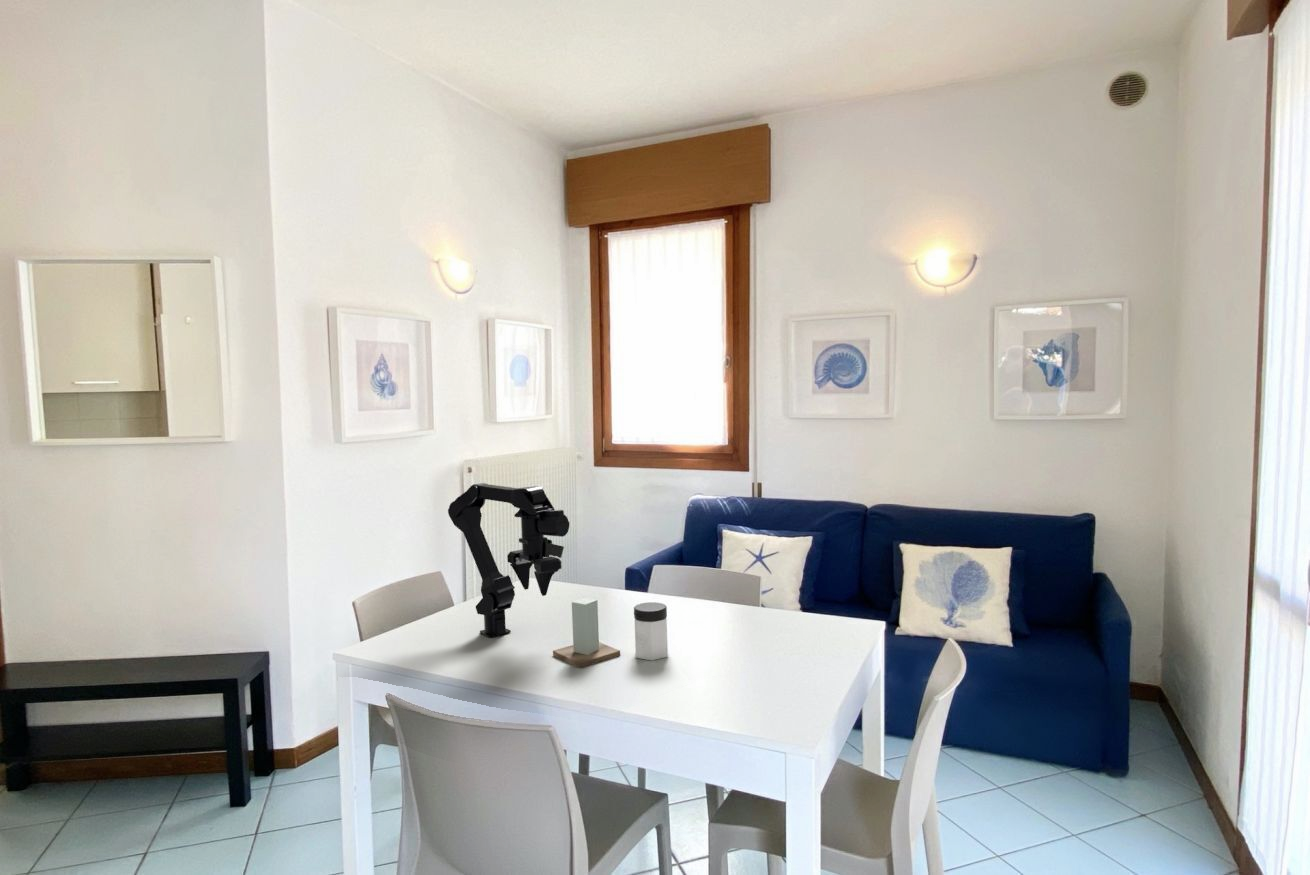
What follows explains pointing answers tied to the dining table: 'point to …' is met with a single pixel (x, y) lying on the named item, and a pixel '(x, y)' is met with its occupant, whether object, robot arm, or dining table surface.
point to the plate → (585, 660)
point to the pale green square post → (585, 626)
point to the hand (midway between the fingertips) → (535, 592)
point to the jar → (651, 631)
